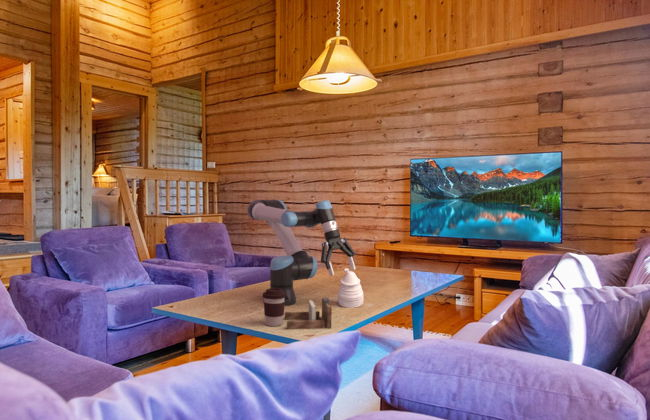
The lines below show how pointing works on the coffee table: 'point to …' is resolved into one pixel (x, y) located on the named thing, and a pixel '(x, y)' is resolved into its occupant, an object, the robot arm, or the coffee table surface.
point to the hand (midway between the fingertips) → (343, 272)
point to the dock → (305, 315)
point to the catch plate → (312, 310)
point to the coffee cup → (274, 306)
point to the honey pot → (350, 291)
